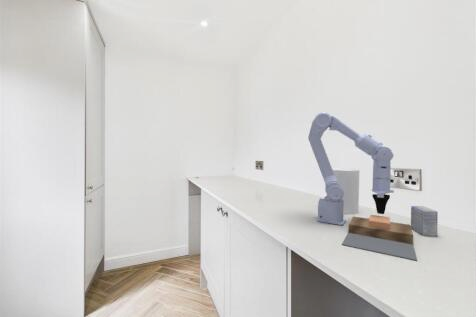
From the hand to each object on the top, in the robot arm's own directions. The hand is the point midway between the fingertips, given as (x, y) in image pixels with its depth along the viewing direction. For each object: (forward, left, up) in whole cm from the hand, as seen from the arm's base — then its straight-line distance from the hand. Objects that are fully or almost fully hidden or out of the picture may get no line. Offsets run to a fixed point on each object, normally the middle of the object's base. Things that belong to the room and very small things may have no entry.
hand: (380, 213), depth 88 cm
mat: (0, -23, -5) cm, 23 cm away
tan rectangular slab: (0, -10, -2) cm, 10 cm away
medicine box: (+13, 0, -5) cm, 14 cm away
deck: (0, -10, -5) cm, 11 cm away
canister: (-16, +17, -5) cm, 24 cm away
